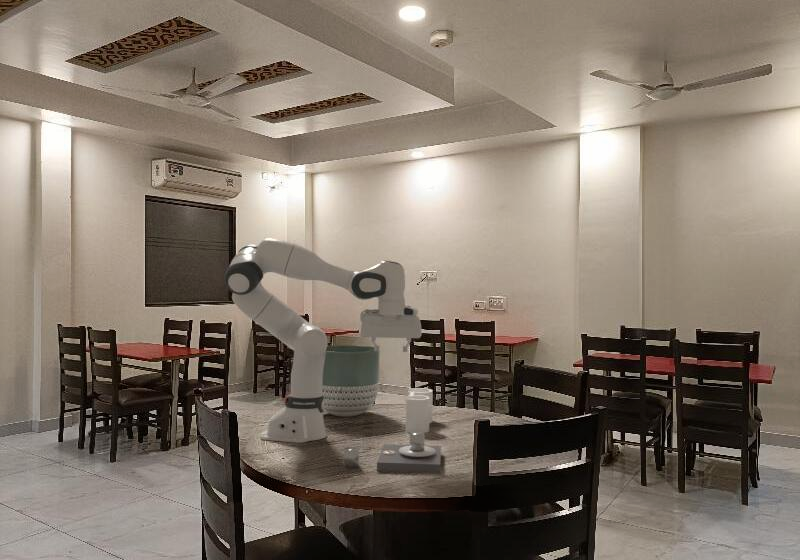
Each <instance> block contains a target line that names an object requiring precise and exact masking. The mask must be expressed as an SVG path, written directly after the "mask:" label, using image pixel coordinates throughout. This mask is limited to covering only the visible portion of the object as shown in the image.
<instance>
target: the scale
mask: <svg viewBox="0 0 800 560" xmlns="http://www.w3.org/2000/svg"><path fill="white" fill-rule="evenodd" d="M441 454H442V446H439V445H424V451H423V452H412V451H410V444H409V445H408V444H385V443H384V444H383V446H382V449H381V452H380V454H379V457H378V459H377V462H376V471H377V472H391V473H414V474H417V473H419V474H441V461H442V460H441V458H442V457H441V456H442V455H441Z"/></svg>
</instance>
